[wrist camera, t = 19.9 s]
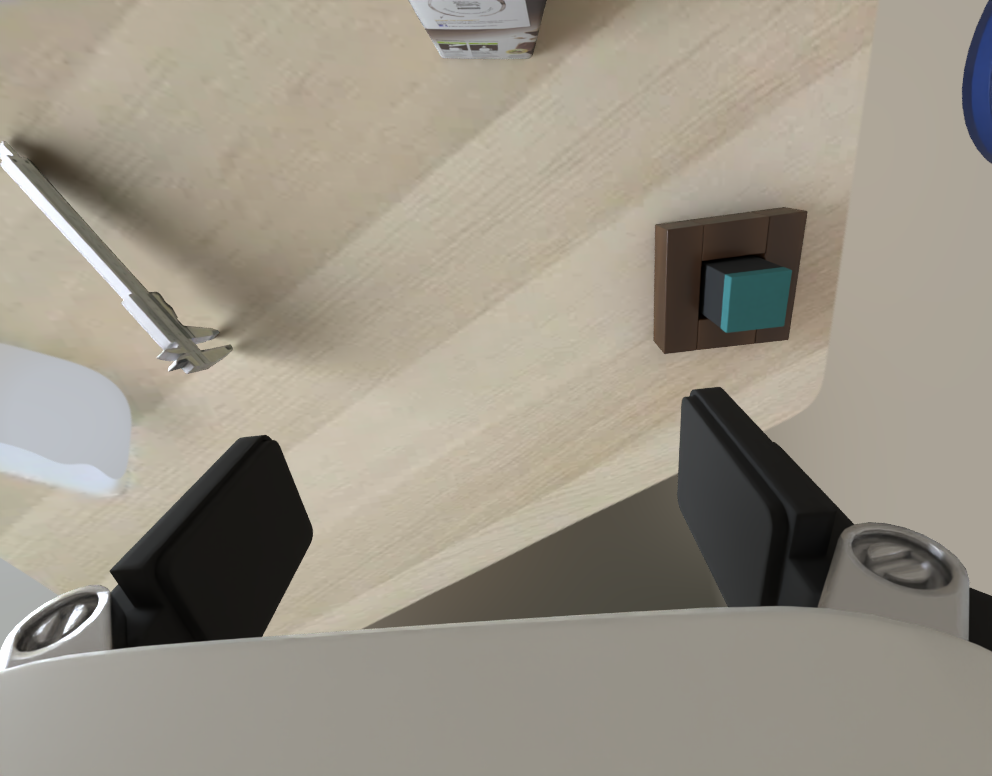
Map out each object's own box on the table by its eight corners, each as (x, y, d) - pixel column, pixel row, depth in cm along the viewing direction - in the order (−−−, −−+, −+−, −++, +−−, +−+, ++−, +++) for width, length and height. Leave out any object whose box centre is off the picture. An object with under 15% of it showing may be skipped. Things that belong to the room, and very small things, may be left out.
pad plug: (742, 250, 36) (792, 269, 29) (737, 298, 37) (784, 326, 31) (692, 257, 36) (731, 277, 30) (689, 304, 38) (726, 333, 31)
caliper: (237, 346, 40) (193, 376, 35) (229, 354, 41) (184, 385, 35) (8, 140, 34) (-92, 136, 28) (1, 151, 34) (-100, 149, 28)
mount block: (784, 206, 34) (808, 210, 32) (769, 327, 38) (788, 340, 36) (655, 224, 35) (667, 229, 32) (653, 340, 39) (664, 354, 36)
